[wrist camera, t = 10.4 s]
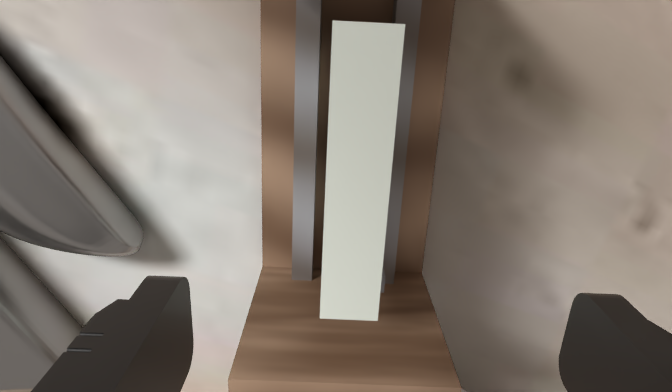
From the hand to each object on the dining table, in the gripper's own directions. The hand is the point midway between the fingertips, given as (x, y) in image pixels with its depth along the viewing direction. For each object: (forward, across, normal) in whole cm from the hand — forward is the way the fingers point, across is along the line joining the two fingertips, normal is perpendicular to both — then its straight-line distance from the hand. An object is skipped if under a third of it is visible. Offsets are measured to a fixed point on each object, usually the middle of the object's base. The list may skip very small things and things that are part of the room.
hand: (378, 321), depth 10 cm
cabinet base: (+19, 0, 0) cm, 19 cm away
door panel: (+18, 0, 0) cm, 18 cm away
